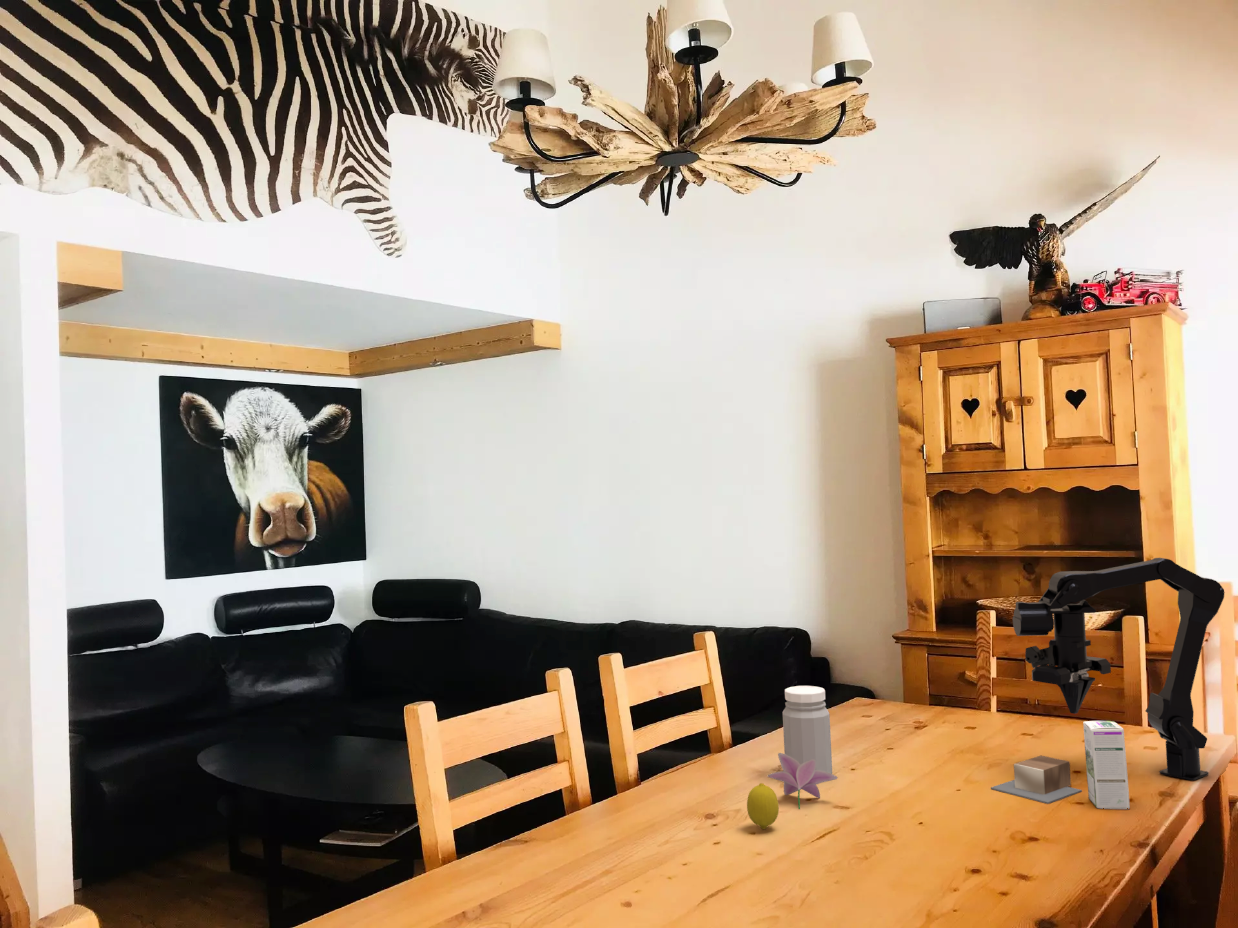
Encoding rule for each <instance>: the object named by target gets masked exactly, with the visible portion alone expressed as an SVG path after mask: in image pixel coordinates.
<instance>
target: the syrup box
mask: <svg viewBox="0 0 1238 928" xmlns="http://www.w3.org/2000/svg"><path fill="white" fill-rule="evenodd" d="M1082 725H1083V737H1084V753H1085V765H1086V769H1085V770H1086V779H1087V781H1086V783H1087V794H1088V800H1090V801H1091V803H1092V804H1093V805H1094V807H1096V809H1103V808H1104V809H1103V810H1130V807H1131V806H1130V805H1131V804H1130V791H1129V776H1128V765H1127V754H1126V753H1127V752H1126V743H1125V742H1126V741H1125V731H1124V728H1123V727H1122V726H1121V725H1119V724H1118V723H1117V722H1115V721H1114V720H1112V721H1111V720H1089V721H1088V720H1087V721H1086V720H1085V721H1083V724H1082ZM1127 808H1128V809H1127Z"/></svg>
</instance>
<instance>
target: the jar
mask: <svg viewBox="0 0 1238 928" xmlns="http://www.w3.org/2000/svg"><path fill="white" fill-rule="evenodd" d="M784 699H785V700H786V702H784V704H785V707H784V709H783V711H782V726H783V727H782V729H783V731H782V733H783V747H784V749H783V750H784V752H783V754H785V755H788V756H790V757H792V758H794V759H795V760H797V761H798V762H799V763H800V764H803V763H804V762H806V761H809V760H812V759H814V760H816V769H815V770H821V771H825V772H828V773H831V774H833V760H832V759H833V758H832V757H833V756H832V737H831V721H830V720H831V719H830V717H831V715H830V712H829V710H828V709H827V707H826V706H827V704H826V701H825V700H826V690H825V688H823V687H820V686H814V685H796V686H790V687H787V688H785V689H784Z"/></svg>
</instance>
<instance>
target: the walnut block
mask: <svg viewBox="0 0 1238 928" xmlns="http://www.w3.org/2000/svg"><path fill="white" fill-rule="evenodd" d="M1070 762H1071V761H1070V760H1069V761H1068V760H1064V759H1059V758H1055V757H1049V756H1046V755H1039V756H1038V755H1037V756H1034V757H1032V758H1028V759H1025V760H1022V761H1019V762H1016V763H1013V772H1014V776H1013V777H1014V780H1015V788H1019V789H1023V790H1027V791H1031V792H1035V793H1039V794H1043V795H1044V794H1047V793H1050V792H1053V791H1056V790H1058V789H1061V788H1064V787H1071V785H1072V781H1071V779H1072V778H1071V765H1070V764H1071V763H1070Z"/></svg>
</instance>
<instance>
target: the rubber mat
mask: <svg viewBox="0 0 1238 928" xmlns="http://www.w3.org/2000/svg"><path fill="white" fill-rule="evenodd" d="M990 789H991V790H993V791H996V792H997V791H998V792H1001V793H1005V794H1008V795H1013V796H1016V797H1020V798H1024V799H1028V800H1032V801H1036V802H1039V803H1043V804H1047V805H1049V804H1052V803H1054V802H1057V801H1060V800H1062V799H1065V798H1069V797H1071V796H1073V795H1076V794H1079V793H1082V792H1083V790H1082V789H1079V788H1075V787H1071V786H1067V787H1064V788H1061V789H1058V790H1056V791H1053V792H1050V793H1047V794H1044V795H1043V794H1039V793H1035V792H1031V791H1027V790H1023V789H1019V788H1015V779H1012V780H1010V781H1006V782H1003V783H1000V784H997V785H993V786H991V787H990Z"/></svg>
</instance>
